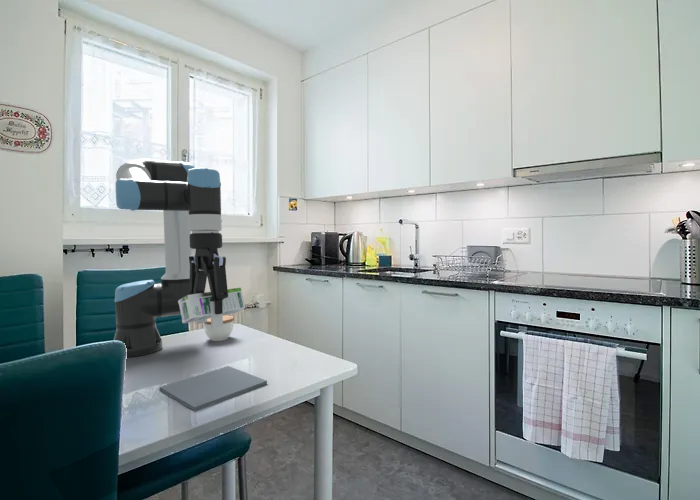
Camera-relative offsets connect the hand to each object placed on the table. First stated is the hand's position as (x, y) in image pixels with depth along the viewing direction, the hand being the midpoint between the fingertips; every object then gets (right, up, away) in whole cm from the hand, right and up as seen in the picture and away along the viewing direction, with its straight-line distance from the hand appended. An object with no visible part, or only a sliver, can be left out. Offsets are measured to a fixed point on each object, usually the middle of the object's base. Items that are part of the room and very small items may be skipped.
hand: (209, 324), depth 93 cm
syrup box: (+5, +5, +6) cm, 10 cm away
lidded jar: (-14, -15, +47) cm, 51 cm away
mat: (+1, -16, +1) cm, 16 cm away
